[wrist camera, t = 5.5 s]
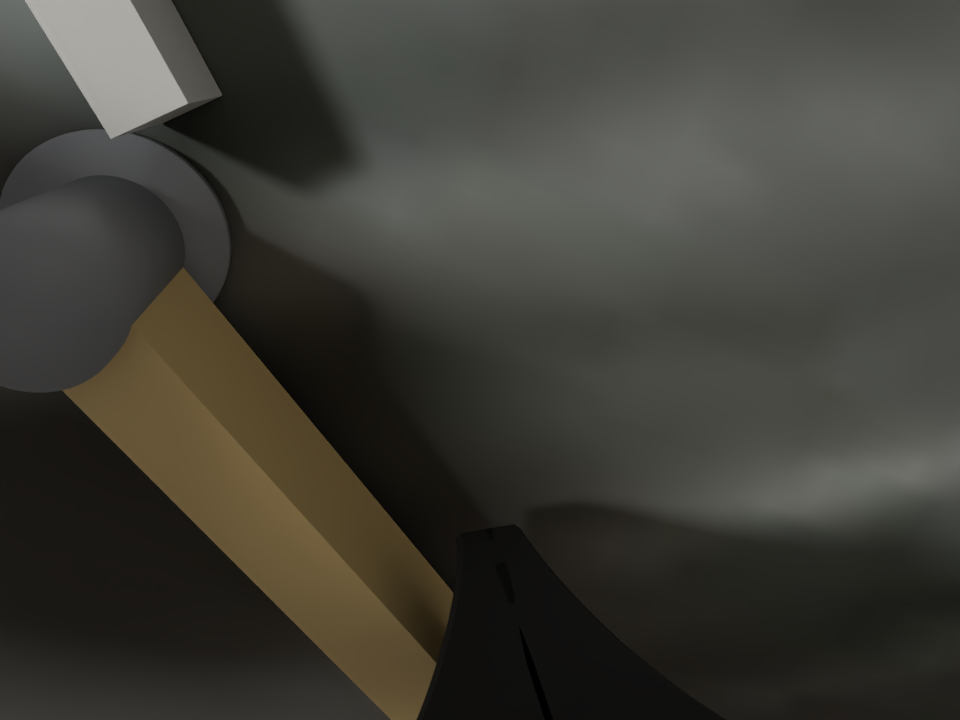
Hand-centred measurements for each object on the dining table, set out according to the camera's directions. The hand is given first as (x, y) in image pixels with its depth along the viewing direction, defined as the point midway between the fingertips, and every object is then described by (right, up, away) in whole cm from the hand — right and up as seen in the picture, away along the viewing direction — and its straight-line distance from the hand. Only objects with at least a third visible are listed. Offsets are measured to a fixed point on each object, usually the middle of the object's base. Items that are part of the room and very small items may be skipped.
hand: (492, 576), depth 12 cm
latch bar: (-2, 0, +1) cm, 2 cm away
